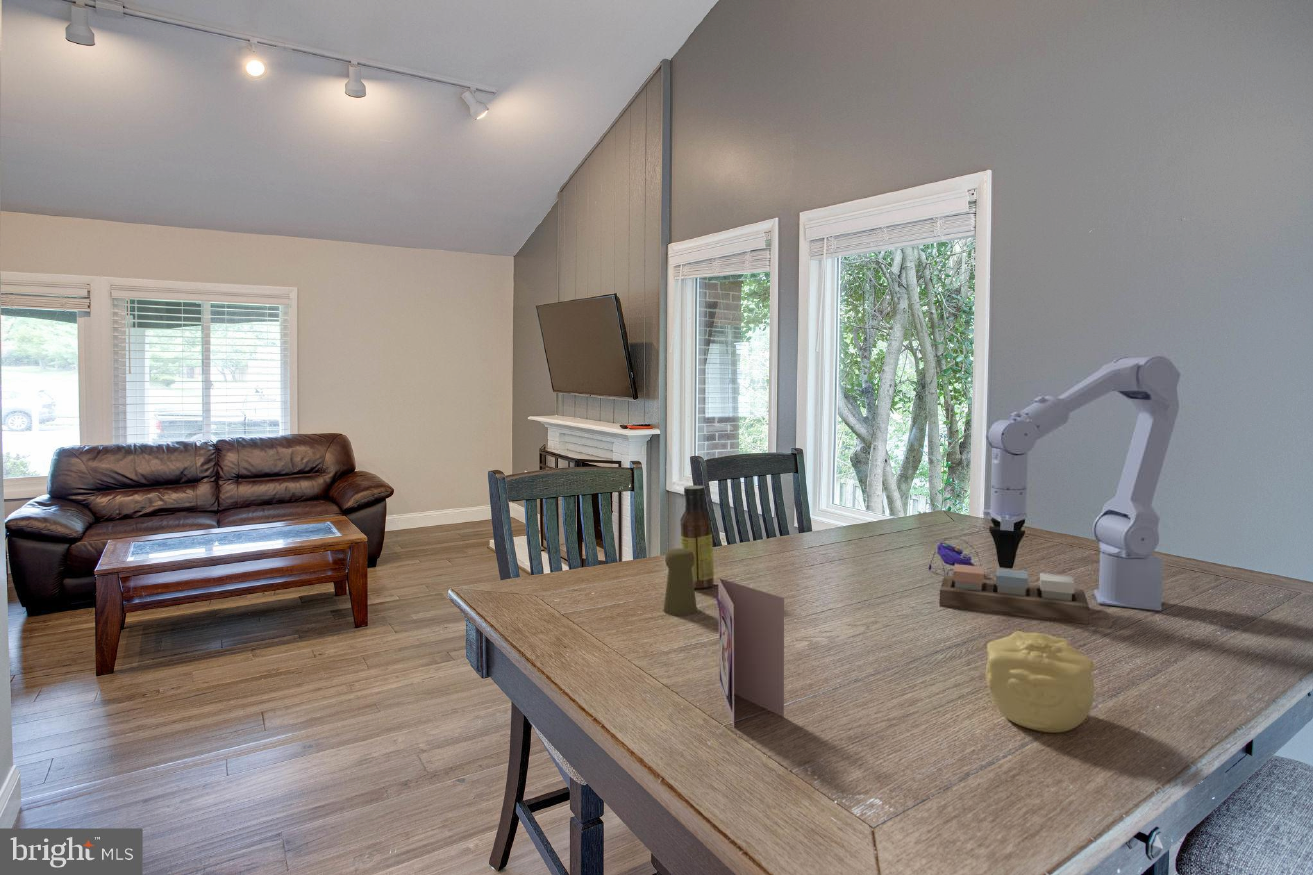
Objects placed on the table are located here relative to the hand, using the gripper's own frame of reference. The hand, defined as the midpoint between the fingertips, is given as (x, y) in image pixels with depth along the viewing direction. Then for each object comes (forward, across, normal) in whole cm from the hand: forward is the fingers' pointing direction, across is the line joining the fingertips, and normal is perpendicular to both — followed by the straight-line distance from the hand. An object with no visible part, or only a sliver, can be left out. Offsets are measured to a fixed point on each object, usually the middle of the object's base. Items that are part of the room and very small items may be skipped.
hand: (1006, 562), depth 130 cm
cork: (+8, +28, -52) cm, 59 cm away
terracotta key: (+5, +1, -6) cm, 8 cm away
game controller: (+8, -16, -10) cm, 21 cm away
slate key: (+5, +1, +1) cm, 5 cm away
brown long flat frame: (+8, +1, +1) cm, 8 cm away
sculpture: (+8, +46, +4) cm, 47 cm away
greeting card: (+8, +57, -28) cm, 65 cm away
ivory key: (+5, +1, +8) cm, 9 cm away
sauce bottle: (+8, +13, -55) cm, 57 cm away
